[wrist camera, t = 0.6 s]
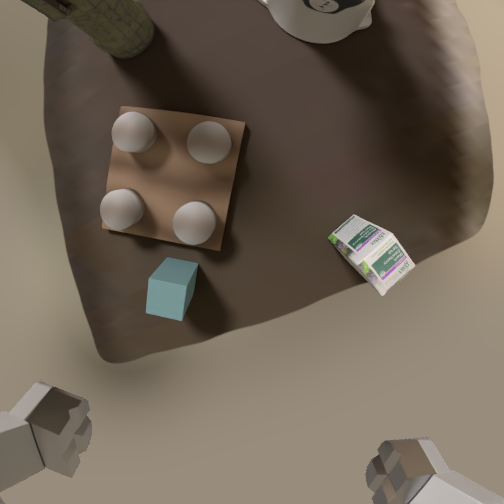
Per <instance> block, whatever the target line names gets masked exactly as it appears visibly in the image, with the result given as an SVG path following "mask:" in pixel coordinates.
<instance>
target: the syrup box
mask: <svg viewBox="0 0 504 504" xmlns="http://www.w3.org/2000/svg"><path fill="white" fill-rule="evenodd" d="M328 239H329V240H330V241H331V243H332V244H333V245H334V246H335V247H336V248H337V250H338V251H339V252H340V253H341V254H342V255H343V257H344V258H345V259H346V260H347V261H348V262H349V263H350V264H351V265H352V266H353V267H354V268H355V269H356V270H357V271H358V272H359V273H360V274H361V275H362V276H363V277H364V278H365V279H366V280H367V281H368V282H369V283H370V284H371V285H372V286H373V287H374V288H375V289H376V291H377V292H378V293H379V294H380V295H381V296H384V295H385V294H386V293H387V291H388V290H390V289H391V288H392V287H393V286H395V285H396V284H397V283H398V282H399V281H400V280H402V278H404V277H405V276H406V275H407V274H408V273H409V272H410V271H411V270H412V269H413V268H414V267H415V264H414V263H413V261H412V260H411V259H410V257H409V256H408V254H407V253H406V252H405V250H404V249H403V247H402V246H401V245H400V243H399V242H398V240H397V239H396V238H395V236H394V235H393V233H391V232H389V231H387V230H385V229H383V228H381V227H379V226H377V225H375V224H372V223H370V222H368V221H366V220H364V219H362V218H360V217H359V216H357V215H352V216H351V217H350V218H349V219H348V220H347V221H345V222H344V223H343V224H342V225H341V226H340V227H339V228H338V229H336V230H335V231H334V232H333V233H332V234H331V235H330V236H329V237H328Z"/></svg>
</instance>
